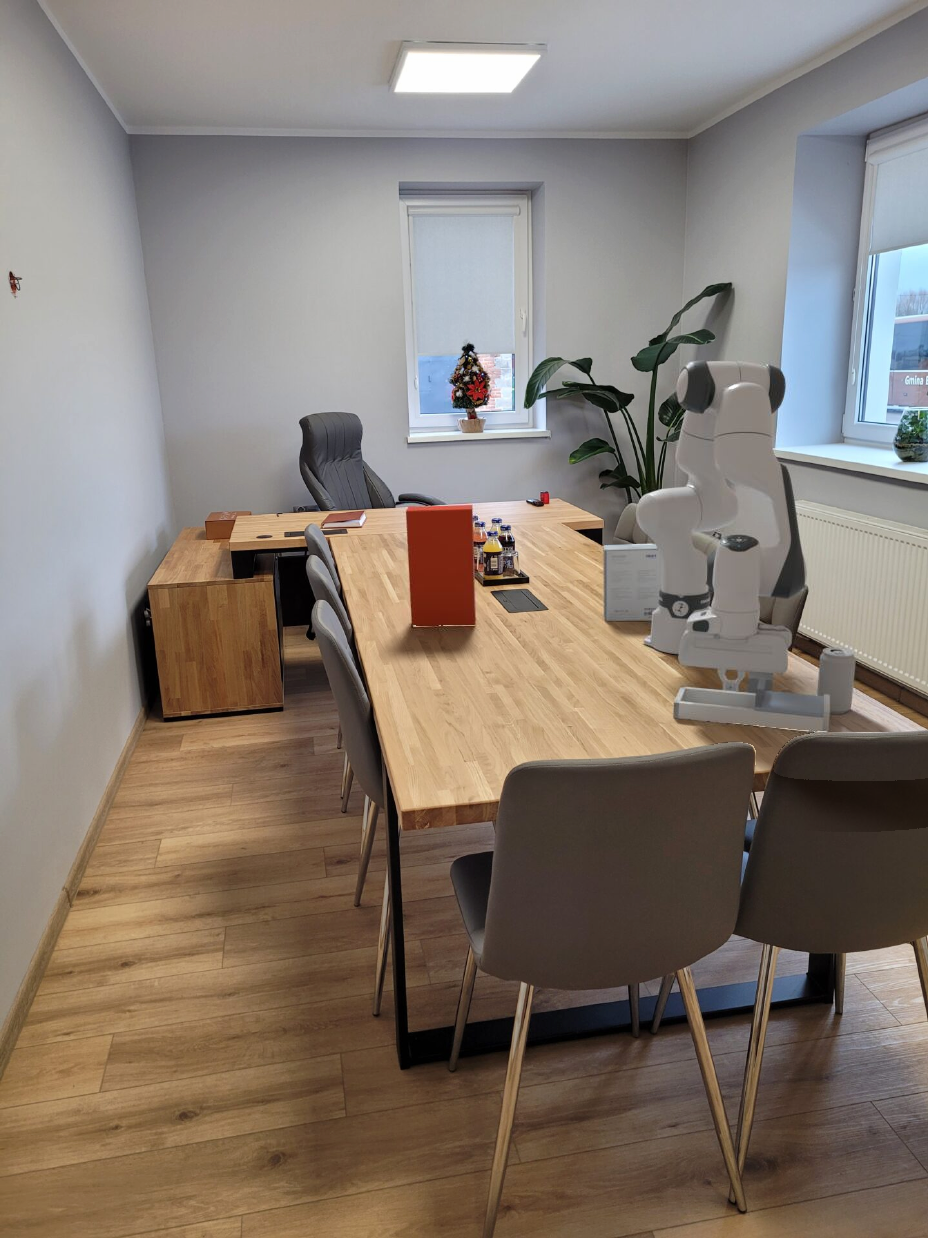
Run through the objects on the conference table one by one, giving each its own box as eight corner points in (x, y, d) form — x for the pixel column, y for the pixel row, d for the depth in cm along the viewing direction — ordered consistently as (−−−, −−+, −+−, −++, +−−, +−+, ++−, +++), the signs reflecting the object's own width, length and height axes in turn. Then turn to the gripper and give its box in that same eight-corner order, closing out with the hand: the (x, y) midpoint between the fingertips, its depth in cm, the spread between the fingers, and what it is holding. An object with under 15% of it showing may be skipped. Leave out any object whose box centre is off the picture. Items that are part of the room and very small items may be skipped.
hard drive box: (658, 613, 245) (660, 543, 240) (662, 621, 238) (664, 548, 233) (602, 614, 247) (603, 543, 242) (603, 621, 240) (604, 549, 234)
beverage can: (842, 702, 177) (847, 645, 174) (856, 714, 171) (862, 655, 168) (810, 703, 177) (815, 646, 174) (824, 715, 171) (829, 656, 168)
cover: (758, 693, 174) (759, 678, 173) (823, 699, 170) (824, 684, 169) (754, 710, 166) (755, 694, 165) (823, 717, 161) (824, 701, 161)
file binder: (475, 626, 239) (471, 508, 230) (411, 628, 239) (405, 510, 231) (475, 618, 246) (472, 504, 238) (414, 620, 247) (408, 506, 239)
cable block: (771, 696, 182) (773, 673, 181) (770, 703, 178) (771, 680, 177) (748, 693, 184) (750, 671, 182) (746, 701, 180) (748, 678, 178)
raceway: (680, 701, 181) (681, 680, 179) (827, 716, 170) (829, 694, 169) (673, 717, 172) (673, 696, 171) (827, 734, 162) (829, 712, 161)
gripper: (793, 621, 167) (788, 690, 171) (683, 613, 174) (680, 679, 178) (792, 630, 161) (786, 701, 165) (678, 622, 169) (675, 690, 172)
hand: (730, 690), depth 171 cm, fingers closed
